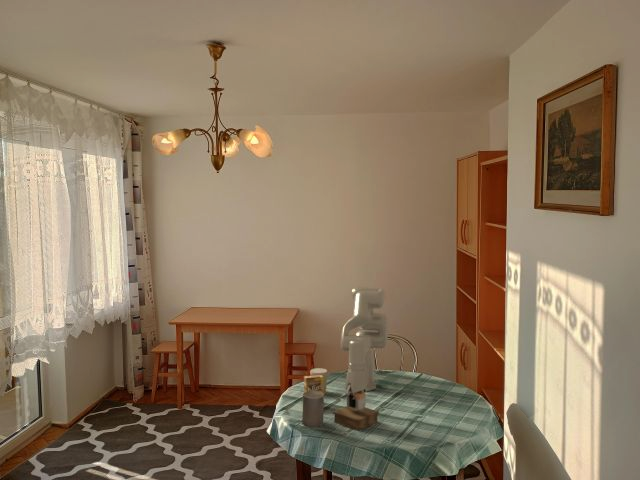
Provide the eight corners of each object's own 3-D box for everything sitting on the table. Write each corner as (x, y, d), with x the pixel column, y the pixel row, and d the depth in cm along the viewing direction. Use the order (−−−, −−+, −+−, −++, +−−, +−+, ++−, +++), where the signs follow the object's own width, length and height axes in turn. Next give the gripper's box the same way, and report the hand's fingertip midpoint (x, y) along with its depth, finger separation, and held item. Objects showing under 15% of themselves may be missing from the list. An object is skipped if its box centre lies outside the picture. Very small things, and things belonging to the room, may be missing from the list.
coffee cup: (330, 392, 310) (331, 369, 309) (321, 396, 302) (321, 374, 301) (316, 388, 314) (316, 367, 314) (306, 393, 307) (306, 371, 306)
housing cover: (353, 393, 271) (353, 388, 271) (365, 397, 266) (365, 392, 266) (347, 396, 268) (347, 390, 268) (359, 399, 263) (359, 394, 263)
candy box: (305, 408, 284) (306, 378, 283) (303, 405, 288) (303, 375, 287) (322, 407, 287) (323, 376, 286) (320, 404, 291) (320, 374, 290)
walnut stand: (353, 413, 278) (353, 403, 278) (378, 422, 268) (378, 411, 268) (332, 422, 267) (333, 411, 267) (358, 431, 257) (358, 420, 257)
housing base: (353, 404, 272) (353, 393, 271) (365, 407, 267) (365, 397, 267) (346, 406, 268) (346, 396, 268) (358, 410, 263) (358, 399, 263)
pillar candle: (299, 421, 268) (299, 389, 267) (318, 418, 272) (319, 386, 271) (307, 429, 259) (307, 396, 258) (327, 425, 263) (327, 393, 262)
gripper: (362, 361, 275) (361, 399, 276) (338, 368, 262) (337, 408, 264) (374, 364, 270) (373, 403, 271) (351, 372, 257) (350, 412, 258)
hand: (356, 405), depth 267 cm, fingers closed on housing base, 5 cm apart
